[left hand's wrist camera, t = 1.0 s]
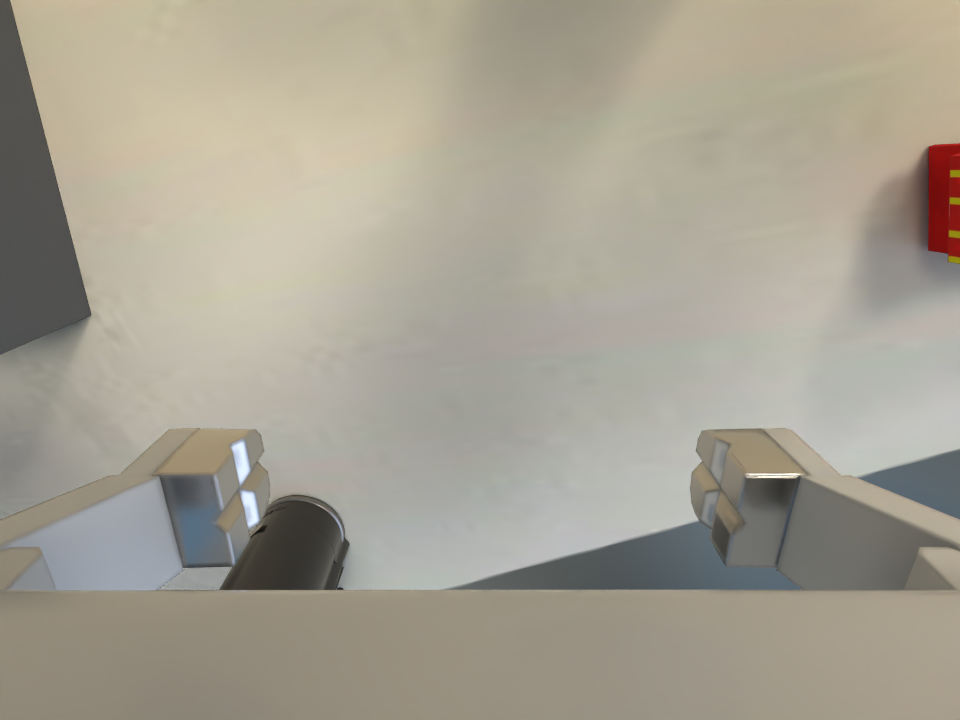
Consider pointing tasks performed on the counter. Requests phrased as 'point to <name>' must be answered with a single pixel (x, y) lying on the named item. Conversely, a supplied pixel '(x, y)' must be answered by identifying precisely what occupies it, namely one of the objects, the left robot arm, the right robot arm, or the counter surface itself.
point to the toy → (944, 200)
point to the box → (30, 213)
